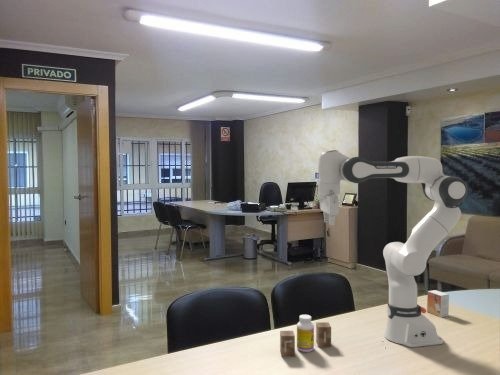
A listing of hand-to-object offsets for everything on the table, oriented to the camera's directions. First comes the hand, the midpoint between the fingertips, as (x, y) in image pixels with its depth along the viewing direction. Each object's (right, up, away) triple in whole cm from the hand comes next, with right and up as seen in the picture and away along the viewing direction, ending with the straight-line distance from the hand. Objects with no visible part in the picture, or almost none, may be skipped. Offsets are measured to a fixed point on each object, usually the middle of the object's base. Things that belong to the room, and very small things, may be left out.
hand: (329, 223), depth 166 cm
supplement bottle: (-11, -49, -7) cm, 50 cm away
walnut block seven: (-18, -49, -11) cm, 53 cm away
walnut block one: (-3, -48, -3) cm, 48 cm away
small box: (+58, -47, +30) cm, 81 cm away
